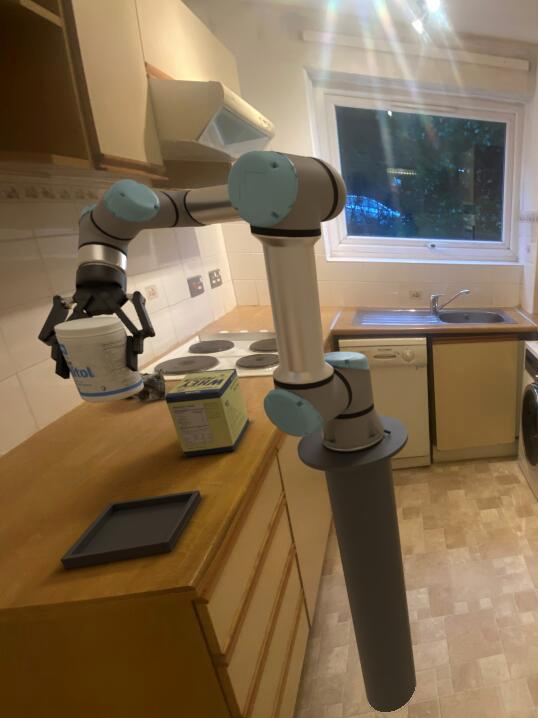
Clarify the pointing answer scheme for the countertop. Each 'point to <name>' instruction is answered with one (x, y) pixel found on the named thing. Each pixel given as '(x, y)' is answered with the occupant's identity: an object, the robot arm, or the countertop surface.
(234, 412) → the protein box
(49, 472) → the countertop surface
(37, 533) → the countertop surface
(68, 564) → the pad
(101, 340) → the supplement tub
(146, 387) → the grey furry lump
